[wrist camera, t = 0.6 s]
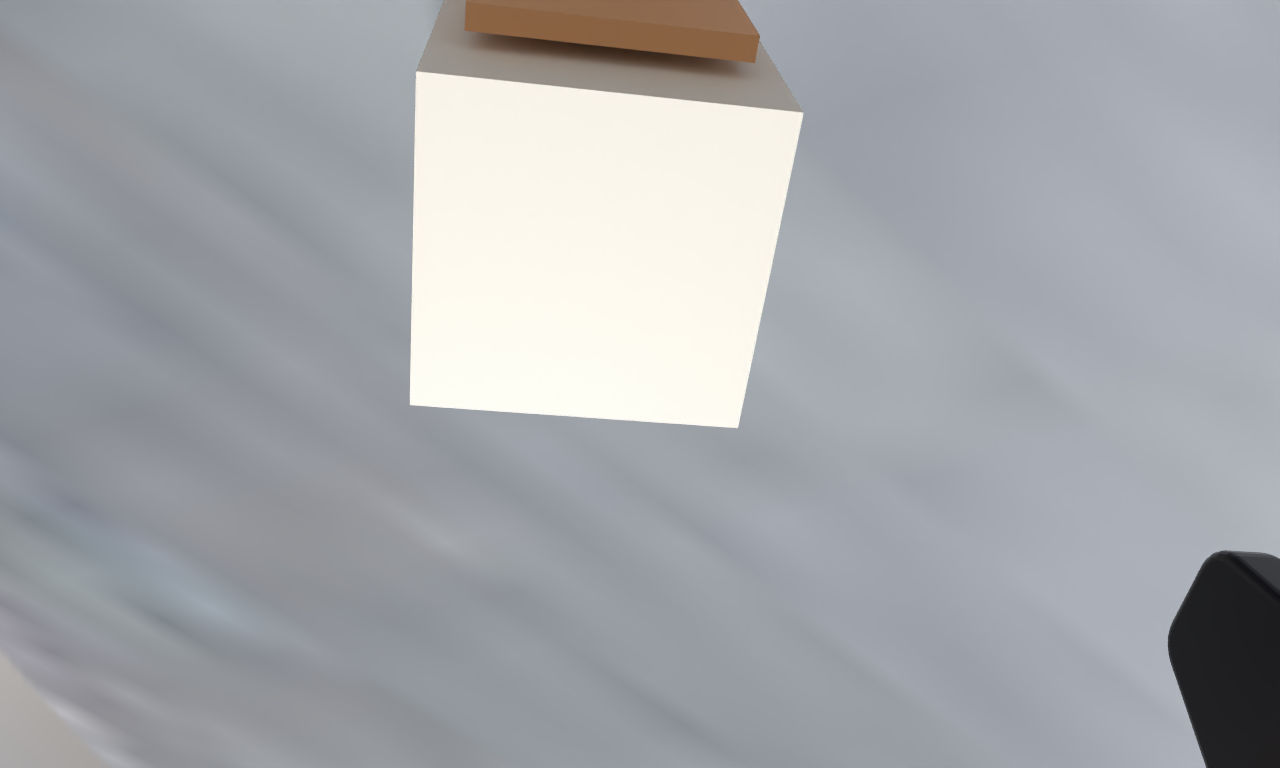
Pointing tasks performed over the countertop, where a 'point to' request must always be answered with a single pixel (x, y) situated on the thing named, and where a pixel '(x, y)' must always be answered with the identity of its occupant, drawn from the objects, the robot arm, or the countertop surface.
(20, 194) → the countertop surface
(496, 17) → the pale upright block
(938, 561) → the countertop surface
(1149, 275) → the countertop surface
